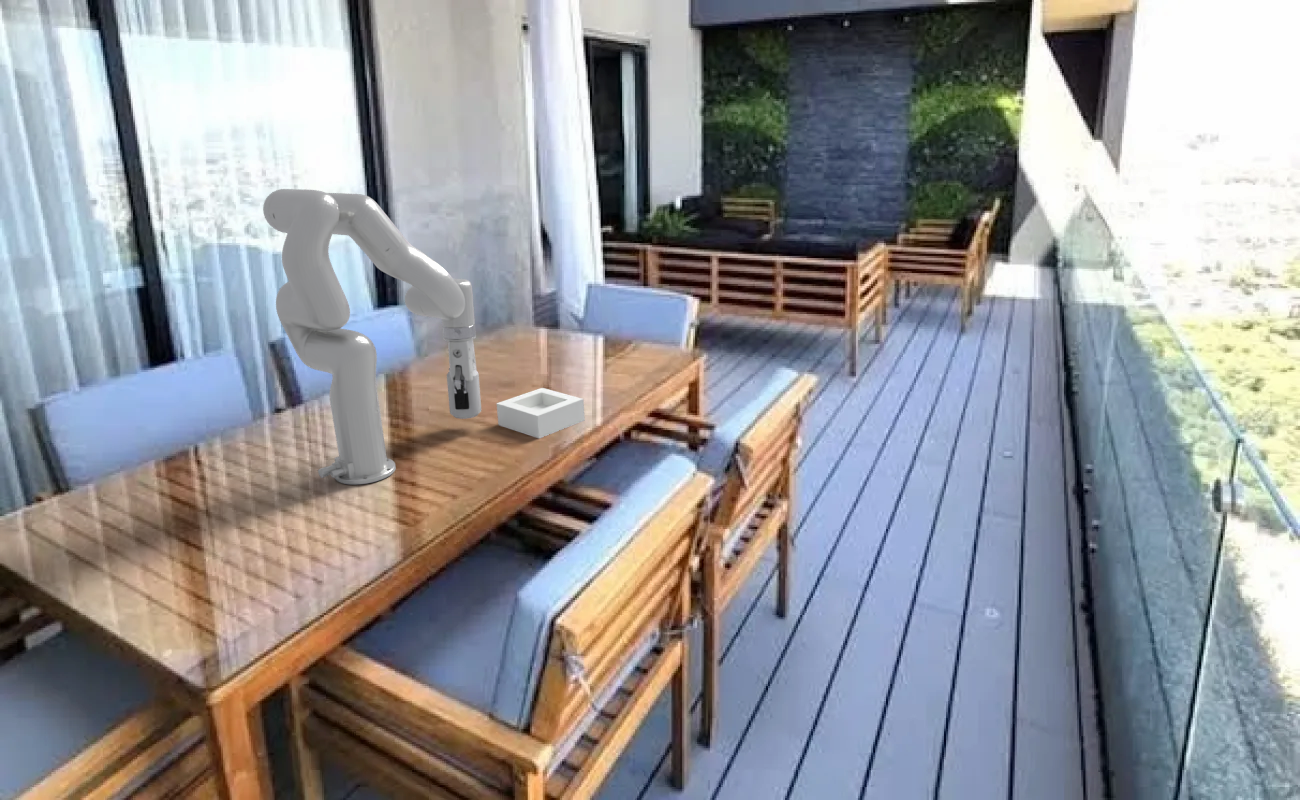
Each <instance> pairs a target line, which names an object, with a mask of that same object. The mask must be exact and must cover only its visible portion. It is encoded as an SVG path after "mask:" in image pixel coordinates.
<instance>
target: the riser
mask: <svg viewBox="0 0 1300 800" xmlns="http://www.w3.org/2000/svg"><path fill="white" fill-rule="evenodd" d="M584 401H585V400H584V398H581V397H578V396H575V395H570V394H566V393H563V392H560V391H557V390H556V391H555V390H554V389H553V390H552V389H548V388H545V387H540V388H538V389H535V390H531V391H529V392H526V393H522V394H520V395H517V396H513V397H511V398H508V399H505V400H502V401H499V402H496V410H497V411H496V413H497V423H498V426H500V427H504V428H506V429H509V430H512V431H516V432H517V433H522V434H524V435H528V436H530V437H533V438H537V439H542V438H544V436H545V437H546V436H549V434H550V435H552V434H554V433H557V432H559V430H560V431H562V430H564V428H565V429H567V428H569V427H571V426H574V425H577V424H579V423H582V422H585V420H586V419H585V404H584V403H585V402H584Z"/></svg>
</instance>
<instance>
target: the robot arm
mask: <svg viewBox="0 0 1300 800" xmlns="http://www.w3.org/2000/svg"><path fill="white" fill-rule="evenodd" d="M262 206H263V208H262V212H263V216H264V219H265V220H266V222H267V223H268V225H269V226H270V227H271V228H272V229H275V230H276V231H277V232H279V233H284V234H286V237H285V240H284V243H283V246H282V251H281V263H282V267H283V271H284V274H285V276H286V277H287V280H288V281H287V282H286V283H283V284H282V286H281V287H280V288H279V290H278V292H277V293H276V297H275V298H276V299H275V309H276V314H277V317H278V319H279V321H280V324H281V326H282V327H283V329H284V331H285V333H286V335H287V337H288V339H289V341H290V344H291V345H292V347H293V349H294V351H295V352H296V354H297V357H298V358H299V360H301V362H302V363H303V364H304V365H305V366H306V367H309V368H310V369H313V370H316V371H319V372H323V373H327V374H331V375H332V378H331V379H332V380H331V384H330V388H329V394H328V395H329V402H330V405H329V406H330V410H331V417H332V421H333V428H334V429H333V430H334V434H335V440H336V445H337V451H338V452H337V453H338V456H336V457H334V462H332V463H331V465H328V466H325V467H321V468H319V469H318V470H317V473H318V475H319V477H320V478H326V477H329V476H331V478H334V480H335V481H336V482H338V483H341V484H343V485H344V484H345V485H356V486H357V485H365V484H371V483H376V482H379V481H381V480H384V479H386V478H388V477H389V476H392V475H393V474H394V473H395V471H396V462H395V461H394V460H392V459H391V458H388V457H387V450H386V444H385V437H384V430H383V429H384V428H383V423H382V417H381V416H382V415H381V408H380V402H379V397H378V388H377V363H378V360H377V359H378V358H377V356H378V355H377V354H378V353H377V349H376V346H375V344H374V342H373V341H372V340H371V339H370V338H369V337H368V336H367V335H365V334H363V333H362V332H359V331H356V330H351V329H348V328H347V329H346V328H343V327H344V326H346V324H347V323H348V322H349V319H350V317H351V316H350V315H351V308H350V305H349V301H348V298H347V297H346V294H345V292H344V289H343V288H342V286H341V284H340V281H339V279H338V277H337V274H336V273H335V270H334V267H333V265H332V263H331V262H332V261H331V260H330V255H329V246H330V243H331V239H332V236H333V235H336V236H337V235H341V236H348V237H349V238H351V239H352V240H353V241H354V243H355V244H356V245H357V246H358V247H359V248H360V249H361V251H362V252H363V253H364V254H365V256H367V257H368V258H369V261H371V262H372V264H374V266H375V267H376V269H378V270H380V271H381V272H383V273H385V274H386V275H388V276H390V277H393V278H395V279H397V280H400V281H402V282H405V283H407V284H409V285H410V287H409V288H408V289H407V290H406V292H405V295H404V305H405V306H406V308H407V309H408V311H409V312H411V313H412V314H414V315H417V316H421V317H427V318H436V319H441V327H442V338H443V341H445V342H447V343H448V344H447V345H448V347H447V348H448V350H447V351H448V362H449V364H448V365H449V368H450V375H451V380H452V381H453V382H454V398H455V409H457V410H460V409H469V396H468V392H467V381H469V382H471V381H472V380H473V373H474V370H473V369H474V367H475V370H476V371H477V361H476V360H477V359H476V355H475V354H476V353H475V345H474V344H475V343H474V339H476V338H477V334H476V320H475V309H474V295H473V286H472V282H471V281H470V280H468V279H465V278H454V277H453V276H451V274H450V273H449V272H448V271H447V269H445V268H444V267H443V266H442V265H440V263H438V262H437V261H435V260H434V259H432V258H431V257H430V256H428V255H427V254H425V253H424V252H423V251H422V250H420V249H418V248H417V247H415V246H414V245H412V244H411V243H410V242H409V241H408V240H407V238H406V237H405V236H404V235H403V233H402V232H401V231H400V230H399V228H398V227H397V225H395V223H393V221H392V220H391V219H390V217H389V216H388V215H387V214H386V213H385V211H384V209H382V208H381V206H380V204H378V203H377V202H376V201H375V200H374V199H373V198H371V196H368V195H366V194H359V193H345V192H344V193H343V192H340V193H339V192H325V191H323V190H322V191H321V190H317V189H307V188H306V189H302V188H301V189H296V188H295V189H294V188H281V189H276V190H274V191H272V192H270V193H269V195H268V196H266V198H265V199H264V202H263V205H262ZM477 372H478V371H477ZM461 376H464V377H465V380H461ZM453 377H454V379H453ZM461 383H464V386H463V384H461Z"/></svg>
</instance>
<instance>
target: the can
mask: <svg viewBox="0 0 1300 800" xmlns="http://www.w3.org/2000/svg"><path fill="white" fill-rule="evenodd" d="M473 370H474V373H473V380H472V381H471V382H469V381H467V392H468V396H469V409H460V410H457V409H455V398H454V382H453V381H452V380H451V375H450V367H449V368H448V372H447V373H446V384H447V393H448V395H447V396H448V405H449V414H450V415H451V416H453V418H456V419H460V420H461V419H462V420H463V419H465V420H466V419H472V418H475V417H477V416H478V415H479V414H480V413H481V412H482V402H481V401H482V400H481V389H480V387H481V386H480V375H479V372H478V371H476V370H475V367H474V369H473ZM453 379H454V377H453ZM461 380H465V377H464V376H461ZM461 384H463V386H464V383H461Z"/></svg>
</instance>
